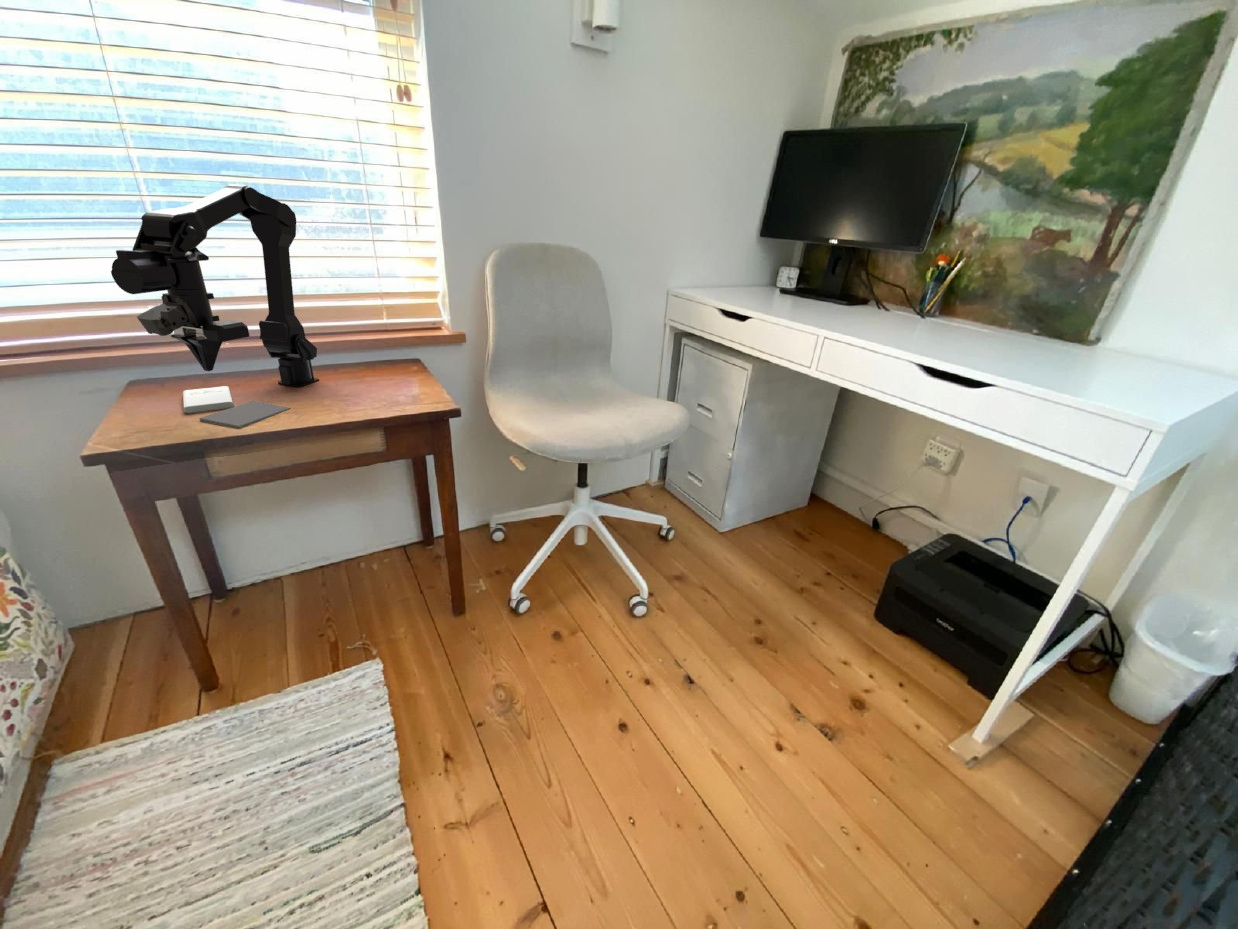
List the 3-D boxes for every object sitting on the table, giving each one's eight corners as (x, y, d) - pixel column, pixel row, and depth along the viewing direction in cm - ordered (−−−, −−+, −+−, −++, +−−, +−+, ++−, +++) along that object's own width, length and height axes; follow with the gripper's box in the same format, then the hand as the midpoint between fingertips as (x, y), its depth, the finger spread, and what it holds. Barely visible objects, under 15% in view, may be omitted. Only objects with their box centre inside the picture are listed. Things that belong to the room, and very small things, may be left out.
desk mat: (253, 403, 116) (252, 400, 115) (290, 410, 113) (290, 407, 113) (200, 420, 105) (199, 418, 105) (240, 428, 103) (239, 426, 102)
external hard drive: (185, 414, 108) (184, 396, 116) (234, 408, 112) (229, 392, 121) (183, 406, 107) (182, 389, 116) (232, 401, 112) (228, 385, 120)
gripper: (99, 286, 92) (128, 373, 99) (180, 298, 88) (205, 388, 95) (165, 281, 102) (188, 361, 109) (241, 291, 98) (260, 373, 104)
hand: (208, 370), depth 104 cm, fingers closed
